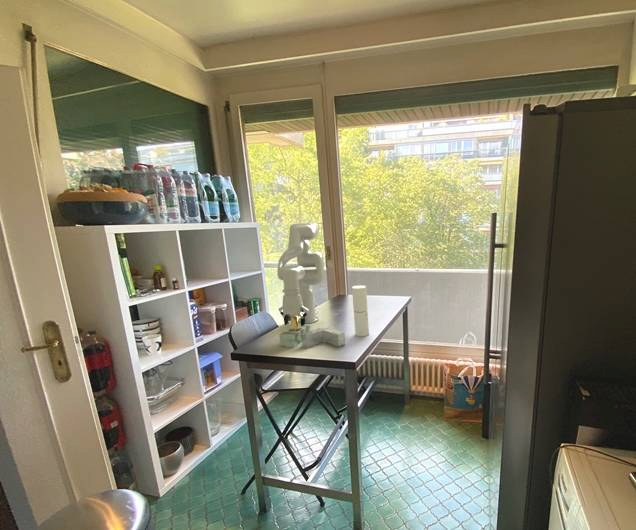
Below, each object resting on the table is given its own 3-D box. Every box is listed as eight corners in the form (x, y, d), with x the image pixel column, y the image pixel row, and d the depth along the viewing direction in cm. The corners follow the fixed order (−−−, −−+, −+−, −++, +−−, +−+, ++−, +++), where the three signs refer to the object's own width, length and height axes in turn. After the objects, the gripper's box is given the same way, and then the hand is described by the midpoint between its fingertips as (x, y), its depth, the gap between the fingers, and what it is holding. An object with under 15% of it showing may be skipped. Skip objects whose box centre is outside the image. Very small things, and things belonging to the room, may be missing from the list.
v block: (304, 340, 171) (303, 328, 170) (345, 338, 169) (344, 326, 168) (301, 348, 160) (299, 336, 159) (345, 346, 158) (344, 334, 157)
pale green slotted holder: (298, 334, 181) (297, 323, 180) (311, 335, 178) (310, 324, 177) (280, 346, 165) (279, 334, 164) (294, 347, 162) (293, 335, 161)
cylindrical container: (353, 333, 175) (349, 286, 172) (364, 330, 178) (361, 284, 175) (359, 337, 169) (355, 289, 166) (371, 334, 171) (368, 286, 168)
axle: (294, 338, 174) (292, 314, 172) (301, 339, 172) (299, 315, 171) (291, 341, 170) (288, 317, 169) (297, 342, 169) (295, 317, 167)
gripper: (273, 293, 169) (276, 326, 171) (303, 294, 161) (306, 328, 163) (281, 290, 175) (284, 321, 177) (310, 290, 168) (313, 323, 170)
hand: (294, 324), depth 170 cm, fingers open, 9 cm apart
